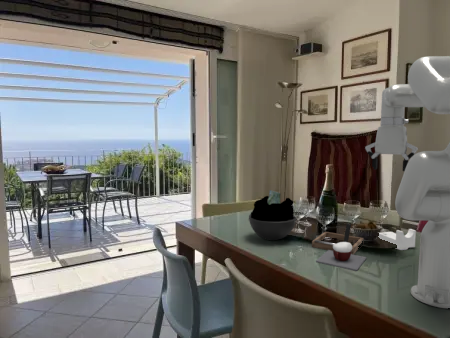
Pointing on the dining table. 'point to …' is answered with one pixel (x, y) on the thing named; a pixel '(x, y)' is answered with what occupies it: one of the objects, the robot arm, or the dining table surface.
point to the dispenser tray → (329, 246)
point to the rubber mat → (351, 263)
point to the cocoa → (343, 247)
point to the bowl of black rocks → (272, 218)
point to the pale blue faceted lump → (274, 197)
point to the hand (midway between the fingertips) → (389, 170)
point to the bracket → (400, 238)
